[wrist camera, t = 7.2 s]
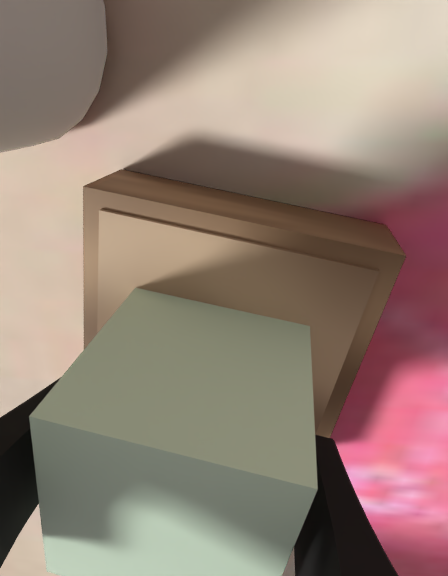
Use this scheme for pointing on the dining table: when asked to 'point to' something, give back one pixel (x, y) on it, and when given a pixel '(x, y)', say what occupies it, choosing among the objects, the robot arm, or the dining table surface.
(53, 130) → the can
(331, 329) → the brown shallow tray
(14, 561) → the dining table surface
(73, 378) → the green cube
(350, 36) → the dining table surface
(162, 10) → the dining table surface
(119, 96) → the dining table surface
